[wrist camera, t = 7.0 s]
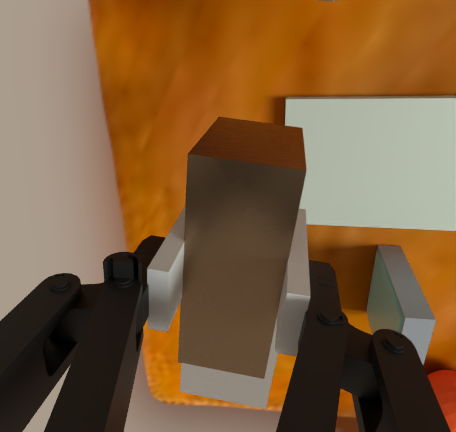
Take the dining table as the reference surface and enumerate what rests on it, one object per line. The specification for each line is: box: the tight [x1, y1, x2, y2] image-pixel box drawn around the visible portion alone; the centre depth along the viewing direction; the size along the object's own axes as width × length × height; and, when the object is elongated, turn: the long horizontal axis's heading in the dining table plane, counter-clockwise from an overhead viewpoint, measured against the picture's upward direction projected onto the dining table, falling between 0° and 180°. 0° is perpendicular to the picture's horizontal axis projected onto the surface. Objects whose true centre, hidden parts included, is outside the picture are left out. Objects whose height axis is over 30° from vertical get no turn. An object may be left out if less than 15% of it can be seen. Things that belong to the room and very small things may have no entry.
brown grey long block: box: [178, 117, 307, 409], centre depth 19 cm, size 19×6×6 cm, turn 175°
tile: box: [366, 245, 436, 365], centre depth 32 cm, size 8×2×10 cm, turn 2°
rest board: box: [285, 95, 456, 231], centre depth 31 cm, size 11×22×1 cm, turn 92°
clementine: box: [427, 370, 456, 432], centre depth 38 cm, size 8×7×7 cm
